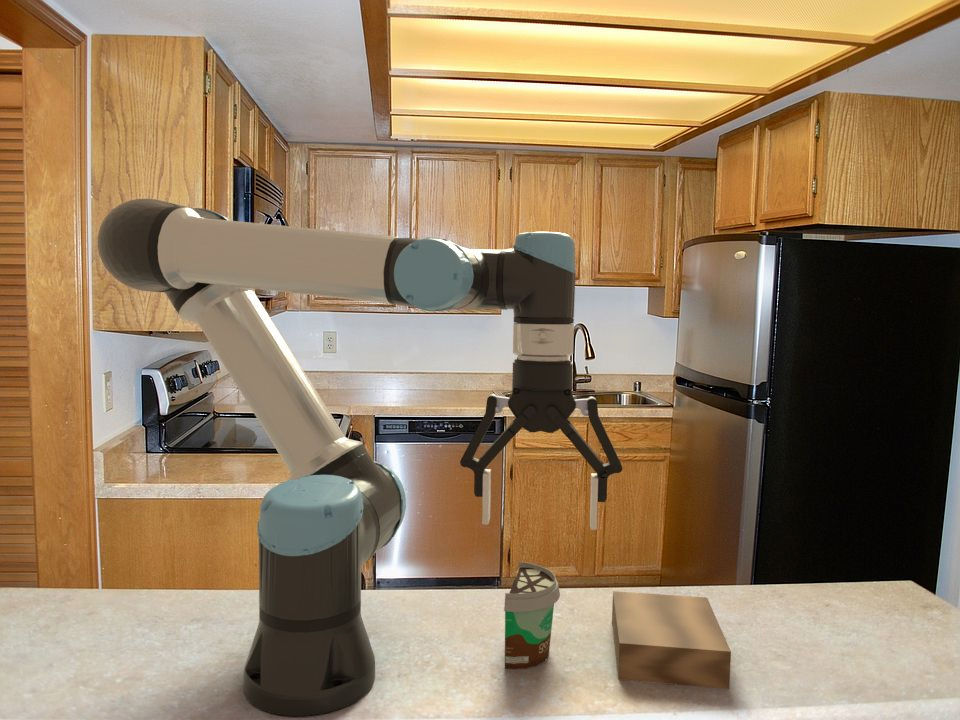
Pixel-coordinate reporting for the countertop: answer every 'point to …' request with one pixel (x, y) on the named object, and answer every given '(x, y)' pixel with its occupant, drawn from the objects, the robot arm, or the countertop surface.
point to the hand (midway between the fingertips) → (539, 524)
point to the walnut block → (669, 640)
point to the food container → (529, 616)
